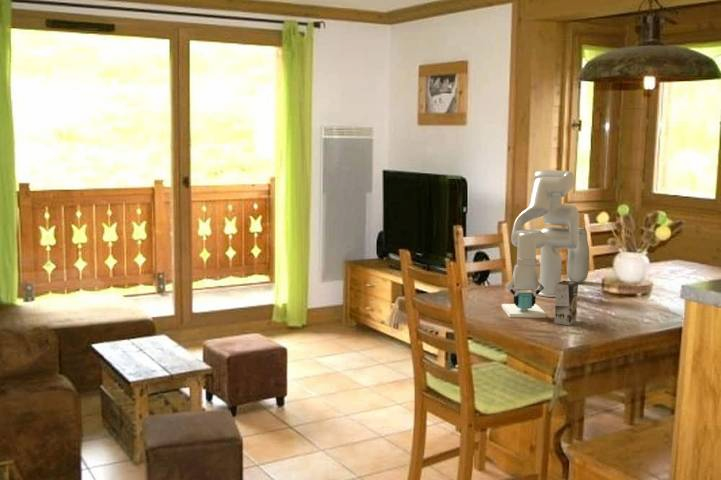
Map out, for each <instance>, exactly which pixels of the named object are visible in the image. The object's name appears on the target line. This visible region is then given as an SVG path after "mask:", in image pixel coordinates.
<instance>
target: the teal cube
mask: <svg viewBox="0 0 721 480" xmlns="http://www.w3.org/2000/svg"><path fill="white" fill-rule="evenodd" d="M517 295H518V306H517V308H522V309H530V308H532V297H533V296H532V292H530V291H519V292H518V294H517Z"/></svg>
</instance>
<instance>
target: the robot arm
mask: <svg viewBox="0 0 721 480" xmlns="http://www.w3.org/2000/svg"><path fill="white" fill-rule="evenodd" d="M532 183H533V184H532V188H531V192H530V193H531V194H530V197H529V203H528V206H527V208H526V209H524V210H523V211H522V212H520V213H519V214H518V216H517V217H516V219H515V220H514V223H513V226H512V229H511V236H510V240H511V241H510V242H511V244H512V245H513V246H514V247H517V253H516V264H514V266H513V270H512V271H513V273H512V280H511V281H510V282H509V283H508V284H507V285H506V286H505V287H506V289H507V290H508V291H509V292H510V293H511V294H512V295H513V304H515V305H516V306H518V292H520V291H531V293H532V296H533V297H532V306H534V304H536V301H537V296H540V297H546V298H556V286H557V283H559V282H561V280H562V279H561V278H562V263H563V262H562V261H563V258H562V255H561V253H560V251H559V249H565V250H568V249H575V248H576V247H577V246H578V242H579V227H580V213H579V210H578V208H577V206H575V205H571V204H563V202H562V201H563V199H562V198H564V197H566V196H567V195H568V193H569V192H570V191H571V190H572V188H573V187H574V185H575V175H574V173H573V172H572V171H569V170H553V169H540V170H536V171H535V173H534V175H533V182H532ZM540 217H542V221H543V222H544V224H546V225H549V226H546V227H543V228H542V229H541V230H538V229H537V230H536V229H526V228H525V229H523V226H524V225H525V224H526V223H528V222H530V221H531V220H535V219H538V218H540ZM557 226H558V227H557ZM560 226H561V227H560ZM563 226H564V227H563ZM537 249H540V259H537ZM539 263H540V264H539ZM537 264H539V271H538V265H537ZM512 287H513V288H514V289H513V288H512Z"/></svg>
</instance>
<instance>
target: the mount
mask: <svg viewBox="0 0 721 480" xmlns="http://www.w3.org/2000/svg"><path fill="white" fill-rule="evenodd" d="M501 308H502V310H503V311H504V312H505V313H506V315H507V316H508V317H509V318H530V319H531V318H537V319H539V318H543V319H545V318H547V313H546V312H545V311H544V310H543V309H542V308H541V307H540V306H539V305H538V304H536V303H535V304H534V306H532V308H530V309H522V308H517V306H516V305H515V303H502V304H501Z"/></svg>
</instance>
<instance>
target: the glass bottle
mask: <svg viewBox="0 0 721 480" xmlns="http://www.w3.org/2000/svg"><path fill="white" fill-rule="evenodd" d="M566 262H567V264H566V266H567V267H566V273H567V278H568V279H569V281H575V282H578V284H582V283H583V282H585V281H586V279H587V278H588V275H589V266H590V265H589V263H590V247H589V242H588V231H587V230H586V228H584V227H581V226H579V242H578V246H577V247H576V248H575V249H567V261H566Z"/></svg>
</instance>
